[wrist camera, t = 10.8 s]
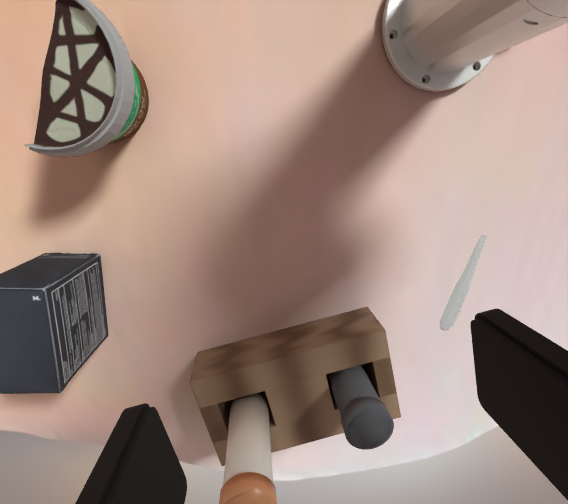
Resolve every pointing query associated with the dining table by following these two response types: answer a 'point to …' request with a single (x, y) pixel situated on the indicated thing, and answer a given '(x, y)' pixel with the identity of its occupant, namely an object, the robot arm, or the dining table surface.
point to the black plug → (360, 408)
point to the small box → (49, 321)
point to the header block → (293, 377)
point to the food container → (87, 85)
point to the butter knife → (461, 289)
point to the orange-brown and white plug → (248, 454)
